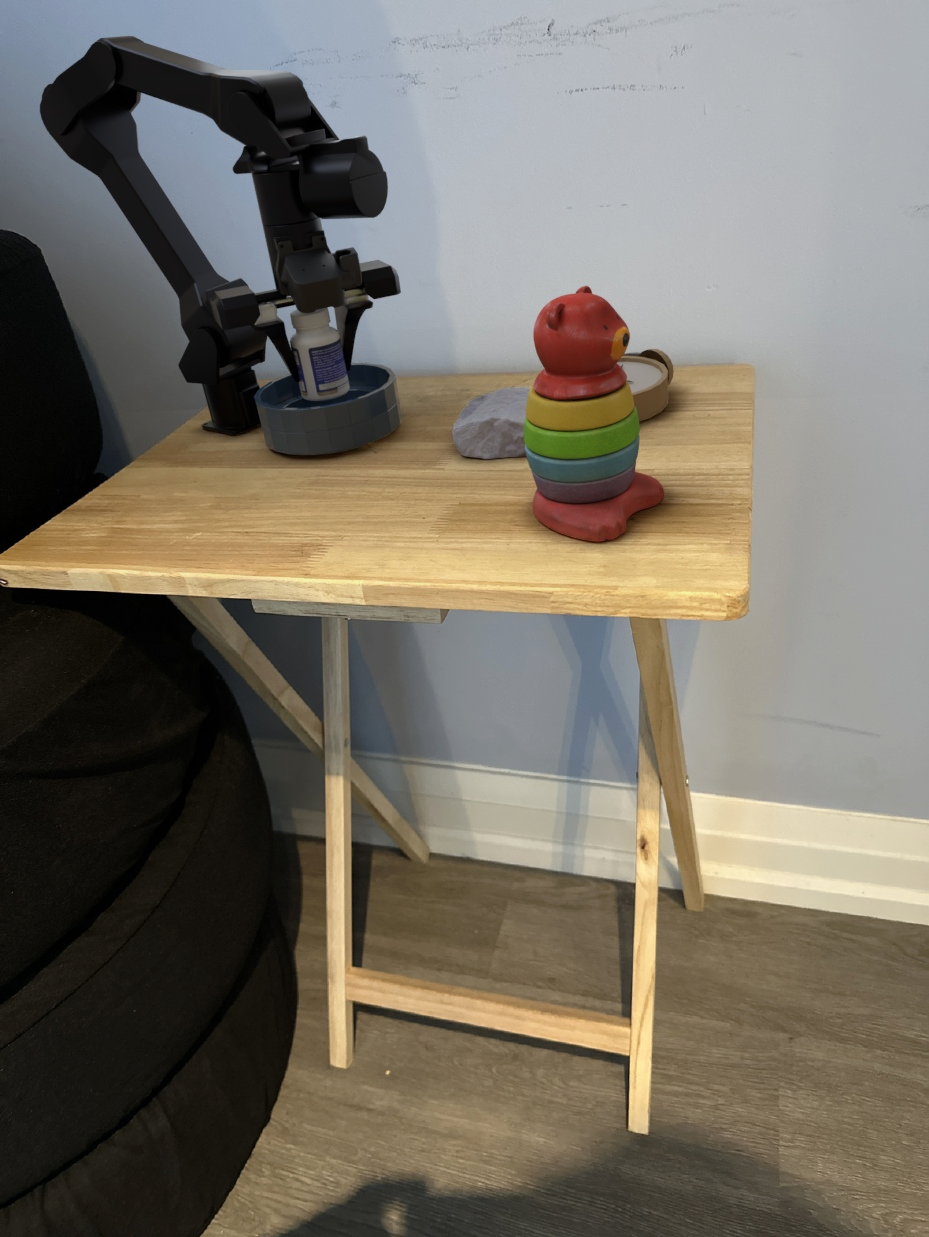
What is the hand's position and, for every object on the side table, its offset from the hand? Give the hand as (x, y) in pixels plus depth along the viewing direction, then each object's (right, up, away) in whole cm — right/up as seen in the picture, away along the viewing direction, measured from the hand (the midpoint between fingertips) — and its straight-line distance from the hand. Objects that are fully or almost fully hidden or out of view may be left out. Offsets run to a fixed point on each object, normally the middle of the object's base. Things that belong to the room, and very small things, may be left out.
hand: (322, 376), depth 99 cm
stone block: (+19, -8, -4) cm, 21 cm away
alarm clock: (+32, -3, +1) cm, 32 cm away
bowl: (+1, -6, +3) cm, 7 cm away
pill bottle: (0, -2, +1) cm, 2 cm away
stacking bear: (+26, -17, -20) cm, 37 cm away
